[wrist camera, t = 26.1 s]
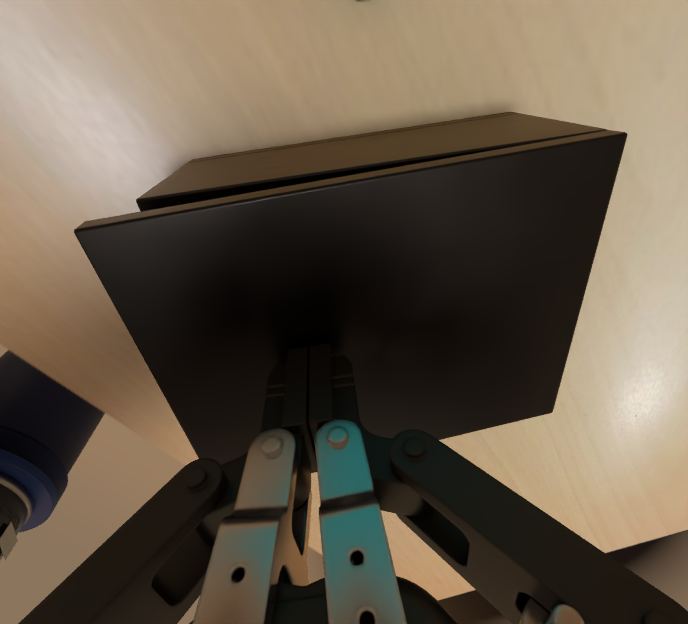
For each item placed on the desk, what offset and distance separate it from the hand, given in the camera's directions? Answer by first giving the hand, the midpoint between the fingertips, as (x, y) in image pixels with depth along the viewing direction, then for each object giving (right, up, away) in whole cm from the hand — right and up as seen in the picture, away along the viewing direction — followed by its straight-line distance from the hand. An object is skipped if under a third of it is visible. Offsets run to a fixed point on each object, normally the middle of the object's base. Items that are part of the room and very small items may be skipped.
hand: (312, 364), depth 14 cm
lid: (+2, +1, +1) cm, 3 cm away
